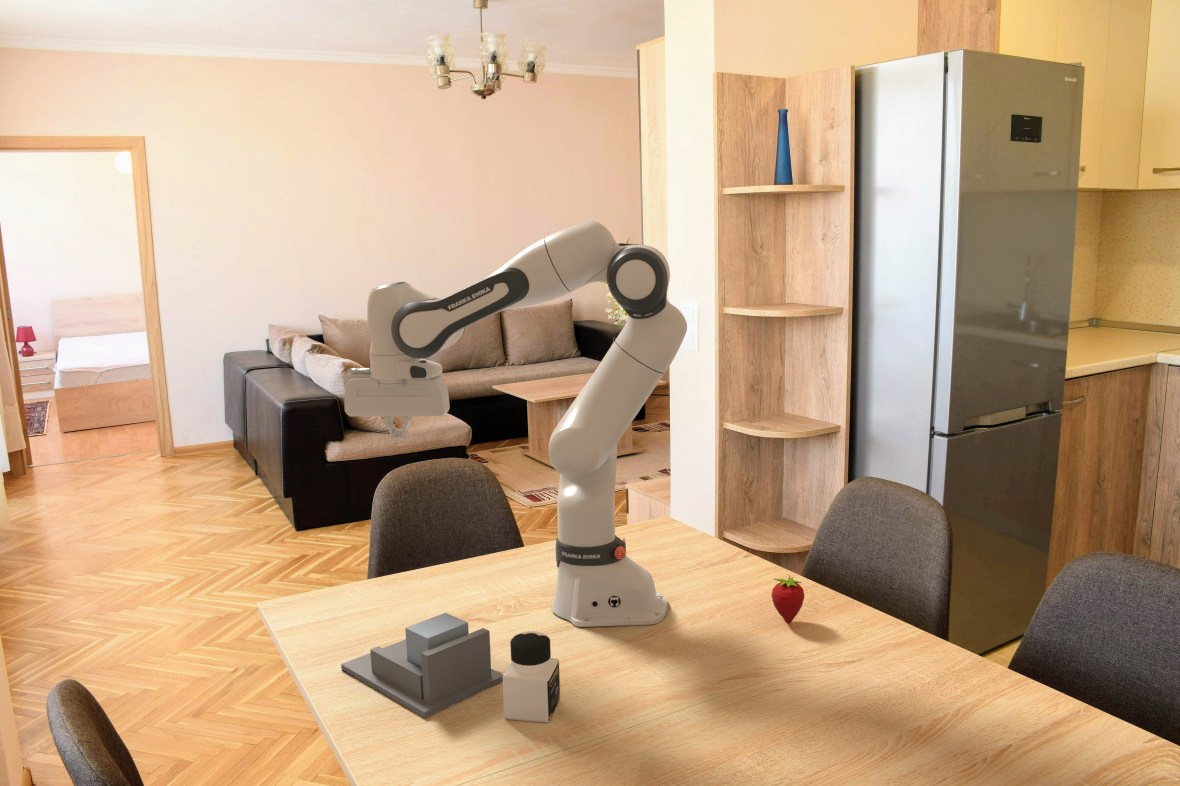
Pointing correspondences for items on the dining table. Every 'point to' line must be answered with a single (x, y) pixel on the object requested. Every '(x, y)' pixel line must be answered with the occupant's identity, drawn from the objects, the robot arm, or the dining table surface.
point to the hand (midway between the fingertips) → (399, 438)
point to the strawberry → (788, 598)
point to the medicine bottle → (531, 679)
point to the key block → (432, 635)
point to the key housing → (429, 673)
